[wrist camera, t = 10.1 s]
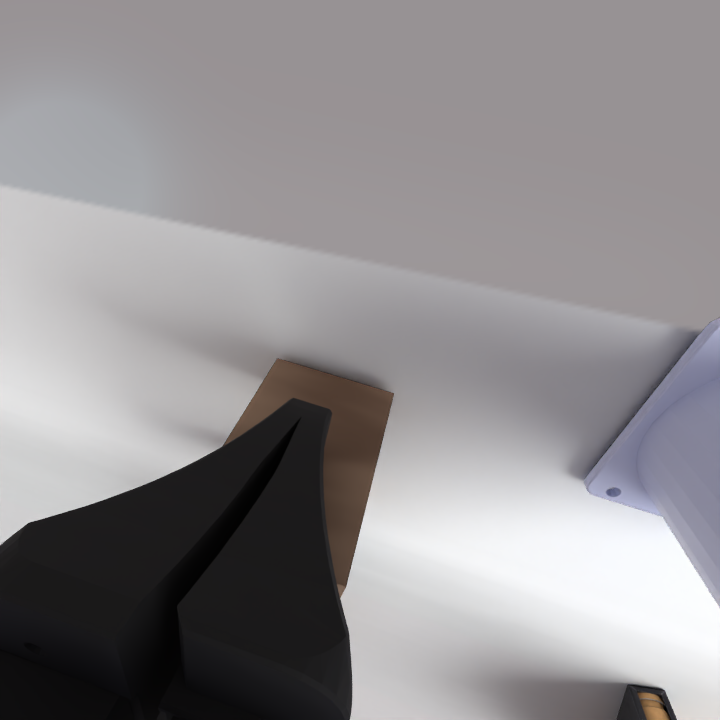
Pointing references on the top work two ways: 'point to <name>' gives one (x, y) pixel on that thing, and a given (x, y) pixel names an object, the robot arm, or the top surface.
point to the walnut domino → (332, 445)
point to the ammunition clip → (645, 705)
